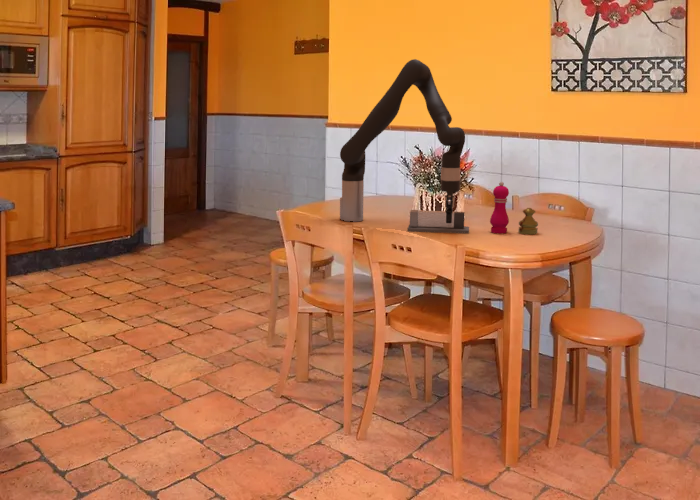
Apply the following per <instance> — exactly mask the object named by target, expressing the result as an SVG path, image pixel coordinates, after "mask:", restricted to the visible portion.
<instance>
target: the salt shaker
mask: <svg viewBox="0 0 700 500" xmlns="http://www.w3.org/2000/svg"><path fill="white" fill-rule="evenodd" d="M536 212H537V211H536V210H535V209H533V208H532V207H527V208H525V209H522V213H523V214H524V217H523V218H522V219H521V220H519V221H518V225H519V226H518V234H521V235H525V236H527V235H530V236H531V235H532V236H535V235H537V234H538V226H539V222H538V221H536V219H534V217H533V215H534V214H536Z"/></svg>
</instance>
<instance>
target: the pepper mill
mask: <svg viewBox="0 0 700 500" xmlns="http://www.w3.org/2000/svg"><path fill="white" fill-rule="evenodd" d="M492 193H493V196H494V198H493V199H494V200H493V202H494V207H493V208H494V209H493V212H492V213H491V216H490V219H489V222H490V225H491V228H490V233H493V234H497V233H498V234H499V235H501V234H503V235H504V234H507V232H508V227H507V226H508V225H509V223H510V220H509V215H508V212H507V208H506V205H507V202H508V198H507V197H508V196H509V194H510V191H509V188H508V187H507V186H505V185H504V182H503V181H499V183H498V185H497V186H495V187H494V189H493V192H492Z"/></svg>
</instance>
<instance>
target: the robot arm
mask: <svg viewBox="0 0 700 500" xmlns="http://www.w3.org/2000/svg"><path fill="white" fill-rule="evenodd" d="M412 86H415V87H416V88H417V89H418V91H420V93H421V95H422V96H423V99H424V101H425V104H426V105H425V106H426V109H427V112H428V114H429V116H430V118H431V120H432V121H433V124H434V126H435V130H436V131H435V132H436V136H437V139H438V141H439V143H441V145H442V146H445V147H449V149H448V150H447V151H446V152H444V153H442V155H441V156H442V157H441V170H440V191H441V192H445V193H446V195H444V207H445V211H446V223H452V213H453V212H454V208H455V201H456V200H455V199H456V195H454V193H457V192H460V189H461V155H462V152H463V150H464V146H465V143H466V133H465V131H464V129H463V128H461V127H457V126H456V127H455V126H453V127H450V126H449V125H450V124H451V123H452V121H453V117H452V115H451V113H450V111H449V109H448V107H447V106H446V105H445V102H444V101H443V99H442V97H441V95H440V92H439V91H438V88H437V86H436V84H435V80H434V78H433V74H432V71H431V69H430V68H429V66H428V65H427V64H426V63H424V62H423V61H420V60H419V59H416V58H414V59H411V60H408V61H407V62H406V63H405V64H404V65H403V67H402V69H401V70H400V72H399V73H398V75H397V76H396V78H395V80H394V81H393V83H392V84H391V85H390V87H389V89H387V90H386V92H385V93H384V95H383V96H382V97H381V99H380V100H379V101H378V102H377V103H376V104H375V106H373V108H372V109H371V111H370V112H369V114H368V115H367V117H366V118H365V120H363V122H362V124H361V125H360V127H359V128H358V129H357V131H356V132H355V133H354V135H352V136H351V138H350V139H349V140H348V141H346V143H345V144H344V145H342V147H341V148H340V151H339V157H340V159H341V161H342V163H343V172H342V174H341V197H340V198H339V220H340V219H341V220H340V221H343V220H344V222H350V221H353V222H362V221H364V190H365V189H364V182H365V181H364V177H365V173H366V149H367V148H368V147H369V146H370V144H371V143H372V142H373V141H374V140H375V139H376V138H378V136H380V134H382V133H383V132H384V131H385V130H386V129H387V128H388V127H389V126H390V124H392V122H393V120H394V119H395V118H396V117H397V115H398V113H399V110H400V108H401V104H402V101H403V99H404V96H405V95H406V93H407V92H408V91H409V90H410V88H411V87H412Z"/></svg>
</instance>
